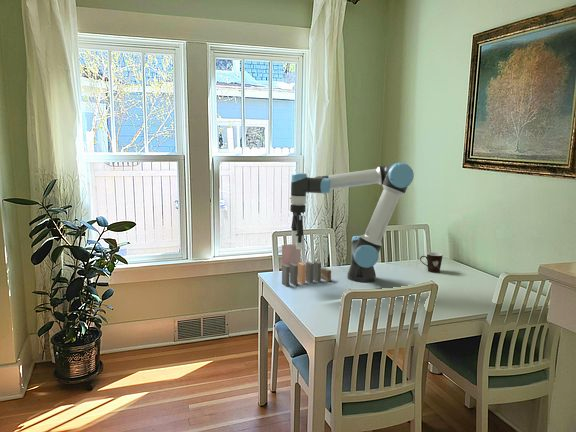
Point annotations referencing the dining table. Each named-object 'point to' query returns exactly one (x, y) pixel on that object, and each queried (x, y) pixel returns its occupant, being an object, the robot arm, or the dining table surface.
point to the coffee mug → (433, 262)
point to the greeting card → (290, 254)
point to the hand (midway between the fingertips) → (296, 246)
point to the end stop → (326, 274)
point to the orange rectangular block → (301, 273)
